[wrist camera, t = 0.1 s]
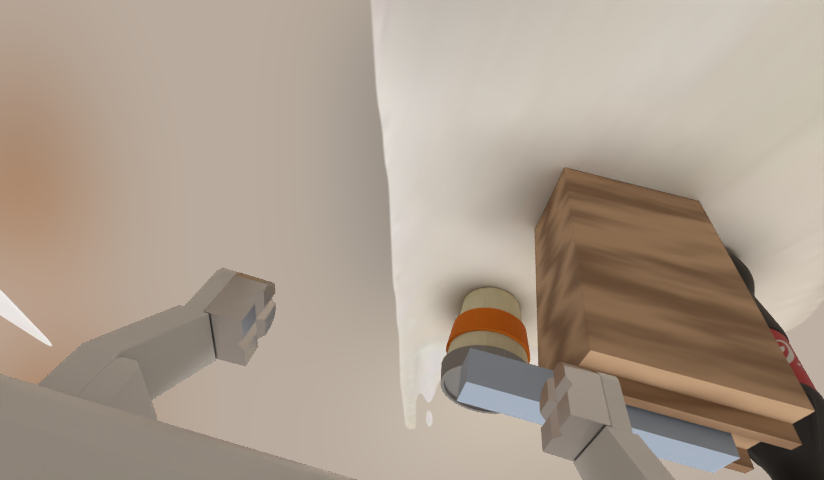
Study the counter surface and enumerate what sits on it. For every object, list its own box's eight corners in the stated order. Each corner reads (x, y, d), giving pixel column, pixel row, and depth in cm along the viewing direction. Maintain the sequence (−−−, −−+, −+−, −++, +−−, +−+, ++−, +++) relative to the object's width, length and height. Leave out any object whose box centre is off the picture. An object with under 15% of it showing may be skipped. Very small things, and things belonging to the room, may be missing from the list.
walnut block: (564, 167, 49) (593, 368, 29) (699, 201, 49) (826, 431, 28) (534, 230, 56) (540, 429, 35) (652, 260, 55) (727, 482, 35)
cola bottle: (757, 264, 52) (931, 547, 30) (696, 298, 58) (804, 559, 35) (709, 231, 51) (854, 503, 28) (650, 269, 56) (733, 523, 34)
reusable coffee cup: (462, 332, 73) (450, 413, 62) (444, 281, 66) (427, 362, 55) (536, 330, 69) (538, 416, 58) (525, 276, 62) (525, 362, 50)
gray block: (470, 347, 33) (466, 381, 30) (725, 417, 32) (740, 457, 29) (461, 367, 35) (456, 400, 32) (700, 433, 34) (713, 472, 31)
